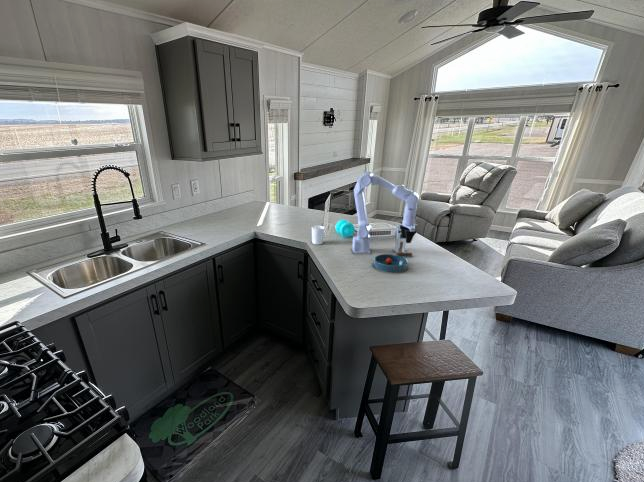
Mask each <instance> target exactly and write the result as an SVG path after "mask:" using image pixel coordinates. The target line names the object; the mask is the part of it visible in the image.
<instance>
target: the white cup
mask: <svg viewBox="0 0 644 482" xmlns="http://www.w3.org/2000/svg"><path fill="white" fill-rule="evenodd" d="M325 229H326V227H325V226H323V225H313V226H311V242H312V244H313V245H323V244H324V239H325V238H324V237H325Z"/></svg>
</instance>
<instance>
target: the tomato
mask: <svg viewBox="0 0 644 482" xmlns="http://www.w3.org/2000/svg"><path fill="white" fill-rule="evenodd" d="M386 263H387V264H391V263H392V259H390V258H388V259H386Z"/></svg>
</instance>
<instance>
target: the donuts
mask: <svg viewBox="0 0 644 482" xmlns="http://www.w3.org/2000/svg"><path fill="white" fill-rule="evenodd" d="M335 231H336V233H337V234H339V235H341V237H343V238H350V237H352V236H353V235H354V233H355V231H356V230H355V225H354V224H353V223H352V222H350V221H349V220H347V219H340V220H338V221H337V223H336V224H335Z"/></svg>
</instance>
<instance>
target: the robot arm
mask: <svg viewBox="0 0 644 482" xmlns="http://www.w3.org/2000/svg"><path fill="white" fill-rule="evenodd" d="M370 185H371V186H380V187H382V188H384V189H386V190H388V191H390V192H391V194H392V195H393V196H394V197H396V198H398V199H400V200H402V201H405V207H404V211H403V212H404V213H403V219H402V221H401V224H402V225H400V228H401V234H402V238H406V244H411V243H412V240H413V238H414V236H415V235H416V234H417V230H415V229H416V228H415V227H416V226H417V225H418V224H417V223H416V216H417V209H418V202H419V194H418V193H417V192H416V191H413V190H412V189H409V188H406V187H405V185H404V184H401V185H400V184H398V185H395V184H393V183H391V182H390V181H388V180H387V179H385V178H383V177H382V176H380V175H379V174H376V173H373V172H371V171H366V172H365V173H363V174H362V175H361V176H359V177H358V179H357V181H356V184H355V185H354V188H353V195H354V196H353V197H354V202H355V208H356V214H357V221H358V223H357V231H356V234H357V235H356V236H353V237H352V247H351V250H352V252H353V254H372V253H371V250H370V246H371V234H370V233H371V231H372V226H371V224H370V221H369V219H368V214H367V207H366V206H367V205H366V199H365V192H364V191H365V190H366V189H367V187H369V186H370Z"/></svg>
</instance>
